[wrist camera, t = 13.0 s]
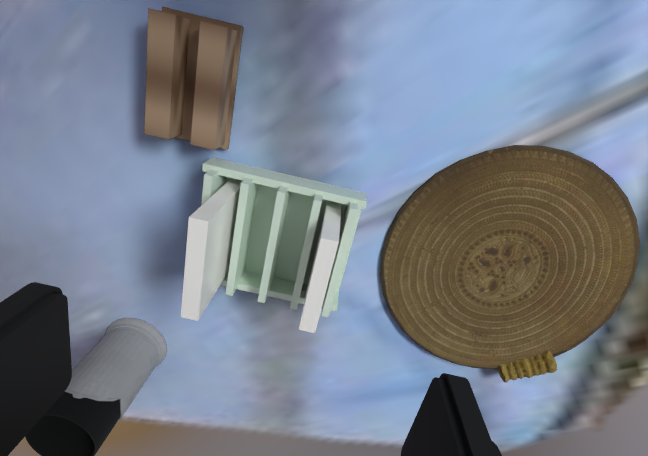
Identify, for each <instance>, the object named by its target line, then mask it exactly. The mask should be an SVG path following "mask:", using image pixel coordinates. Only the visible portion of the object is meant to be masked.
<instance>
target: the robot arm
mask: <svg viewBox="0 0 648 456" xmlns="http://www.w3.org/2000/svg"><path fill="white" fill-rule="evenodd" d="M71 378H72V369H71V352H70V335H69V319H68V302H67V297H66V296H65V295H63V294H62V291H61V289H60V288H58V287H54V286H49V285H45V284H40V283H36V282H34V283H30V284H28V285H26V286H25V287H23V288H22V289H20V290H19V291H17V292H16V293H14V294H13V295H11V296H10V297H8V298H7V299H5V300H4V301H2V302H1V303H0V456H8V455H9V453H10V452H11V451H12V450H13V449H14V448H15V447H16V446H17V445H18V443H19V442H20V441H21V440H22V439H23V438H24V437H25V436H26V435H27V433H28V432H29V431H30V430H31V429H32V428H33V427H34V426H35V424H36V423H37V422H38V421H39V420H40V419H41V418H42V417H43V415H44V414H45V413H46V412H47V411H48V410H49V409H50V408H51V406H52V405H53V404H54V403H55V402H56V401H57V400H58V399H59V397H60V396H61V395H62V394H63V393H64V392H65V390H66V389H67V388H68V386H69V384H70V382H71ZM401 456H502V455H501V453H500V451H499V449H498V447H497V445H496V444H495V443H494V442H493V441H491V438H490V436H489V433H488V431H487V428H486V425H485V423H484V420H483V417H482V415H481V412H480V410H479V407H478V404H477V402H476V399H475V396H474V394H473V391H472V388H471V386H470V383H469V381H468V380H467V379H466V378H463V377H459V376H454V375H450V374H445V373H443V374H442V375H441V376H440V378H434V379H433V380H432V382H431V384H430V386H429V389H428V391H427V393H426V395H425V398H424V400H423V402H422V404H421V407H420V409H419V411H418V413H417V416H416V418H415V420H414V422H413V425H412V427H411V429H410V431H409V433H408V436H407V438H406V440H405V442H404V445H403V447H402V451H401Z"/></svg>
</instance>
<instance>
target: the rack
mask: <svg viewBox="0 0 648 456" xmlns="http://www.w3.org/2000/svg"><path fill="white" fill-rule="evenodd" d="M202 171H204V172H207V173H205V174H204V182H203V192H202V202H201V206H202V205H203V204H204V203H205V202H206V201H207V200H208V199H209V198H210V197H212V196H213V195H214V194H215V193H216V192H217V191H218V190H219V189H220V188H221V187H223V186H224V185H225V184H226V183H227V182H228V181H229V180H230V179H231V178H234V179H239V180H243V181H242V182H241V186H240V193H239V201H238V208H237V215H236V222H235V229H234V237H233V244H232V251H231V258H230V265H229V271H228V273H227V274H226V276H225V277H224V279H223V281H222V282H221V284H220V286H225V287H226V295H230V296H233V294H234V292H235V291H236V289H238V290H243V291H247V292H251V293H256V294H259V297H258V302H262V303H265V301H266V298H267V296H269V297H274V298H278V299H283V300H287V301H291V305H290V309H293V310H297V307H298V303H300V304H304V306H303V311H302V316H301V321H300V326H299V330H303V331H308V332H312V333H315V331H316V327H317V323H318V320H319V316H320V312H321V308H322V315H321V316H324V317H329V314H330V310H332V311H336V310H337V307H338V292H339V288H340V285H341V281H342V277H343V274H344V270H345V267H346V263H347V260H348V256H349V252H350V249H351V245H352V242H353V238H354V235H355V231H356V227H357V224H358V220H359V217H360V213H361V209H362V208H363V209H365V208H366V204H367V196H366V193H364V192H360V191H356V190H352V189H347V188H343V187H339V186H334V185H330V184H326V183H322V182H317V181H313V180H309V179H305V178H300V177H296V176H292V175H287V174H283V173H279V172H275V171H270V170H266V169H262V168H257V167H253V166H249V165H245V164H240V163H236V162H232V161H227V160H223V159H219V158H215V157H212V158H211V159H209V160H208V161H206V162H204V163H203V168H202Z"/></svg>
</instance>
